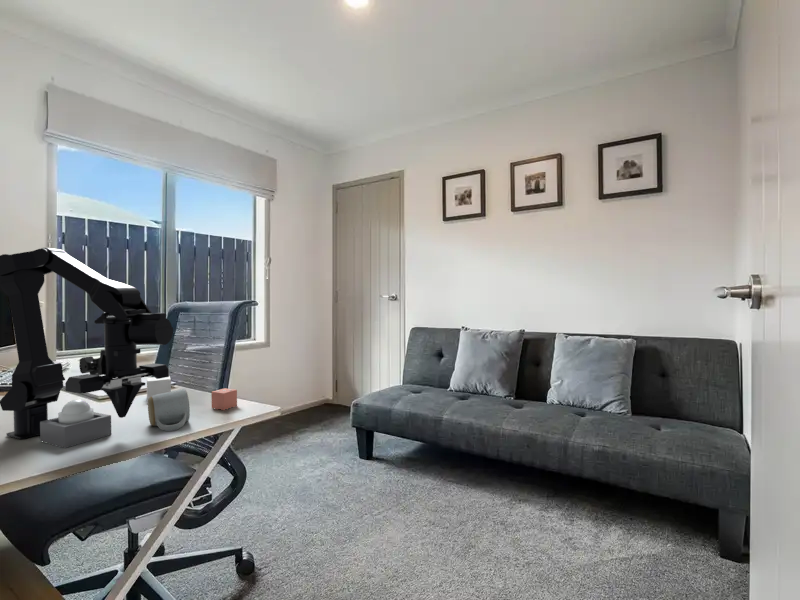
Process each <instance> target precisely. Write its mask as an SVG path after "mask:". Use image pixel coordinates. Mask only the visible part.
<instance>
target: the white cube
mask: <svg viewBox="0 0 800 600" xmlns="http://www.w3.org/2000/svg"><path fill="white" fill-rule="evenodd" d="M167 392H172V379H171V376H170V375H169V377H165V378H160V379H156V378H155V377H154V376H151V377H146V401H147V403H148V399H149V398H150V397H151V396H154V395H157V394H162V393H167Z"/></svg>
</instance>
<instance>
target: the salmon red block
mask: <svg viewBox="0 0 800 600" xmlns="http://www.w3.org/2000/svg"><path fill="white" fill-rule="evenodd" d="M234 406H236V407H238V390H237V389H235V388H225V387H224V388H220V389H217V390H213V391H211V409H212V408H215V409H214V410H218V409H221V410H220V411H226V410H225V409H227V410H228V408H230V409H232V408H231V407H233V408H235V407H234Z"/></svg>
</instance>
